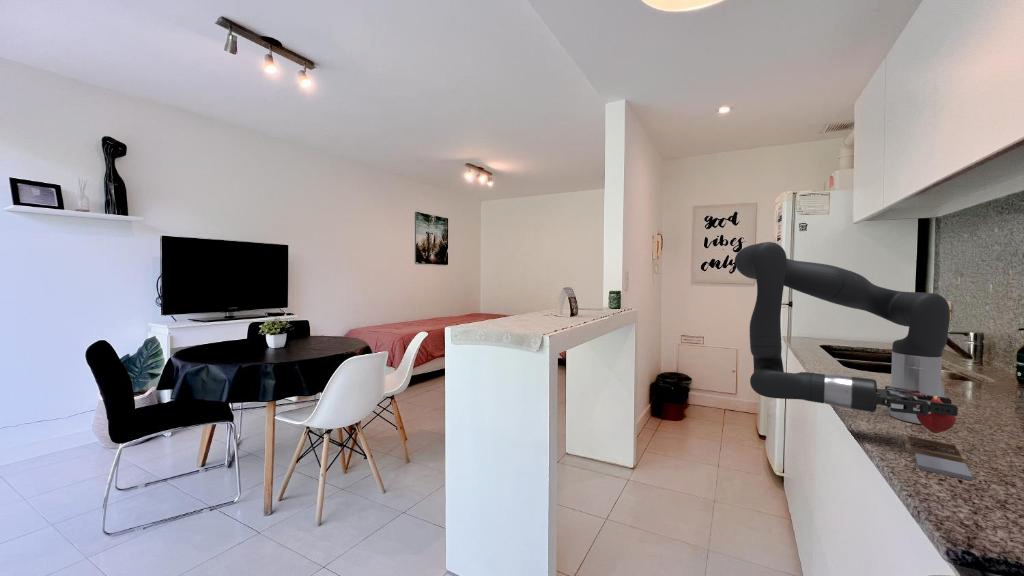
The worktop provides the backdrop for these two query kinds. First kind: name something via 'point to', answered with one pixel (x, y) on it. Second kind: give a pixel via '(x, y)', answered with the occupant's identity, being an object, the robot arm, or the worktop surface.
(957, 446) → the square wooden frame
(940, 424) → the onion
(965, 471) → the coaster
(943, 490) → the worktop surface
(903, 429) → the worktop surface
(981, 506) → the worktop surface
